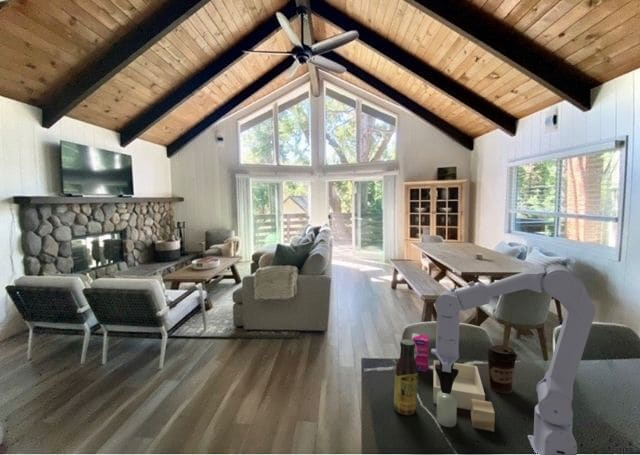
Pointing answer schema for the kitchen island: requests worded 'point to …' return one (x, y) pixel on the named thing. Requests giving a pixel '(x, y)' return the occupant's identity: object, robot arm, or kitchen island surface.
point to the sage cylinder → (446, 409)
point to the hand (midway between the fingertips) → (446, 385)
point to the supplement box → (421, 351)
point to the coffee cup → (501, 368)
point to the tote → (462, 385)
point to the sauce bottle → (406, 380)
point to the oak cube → (482, 414)
